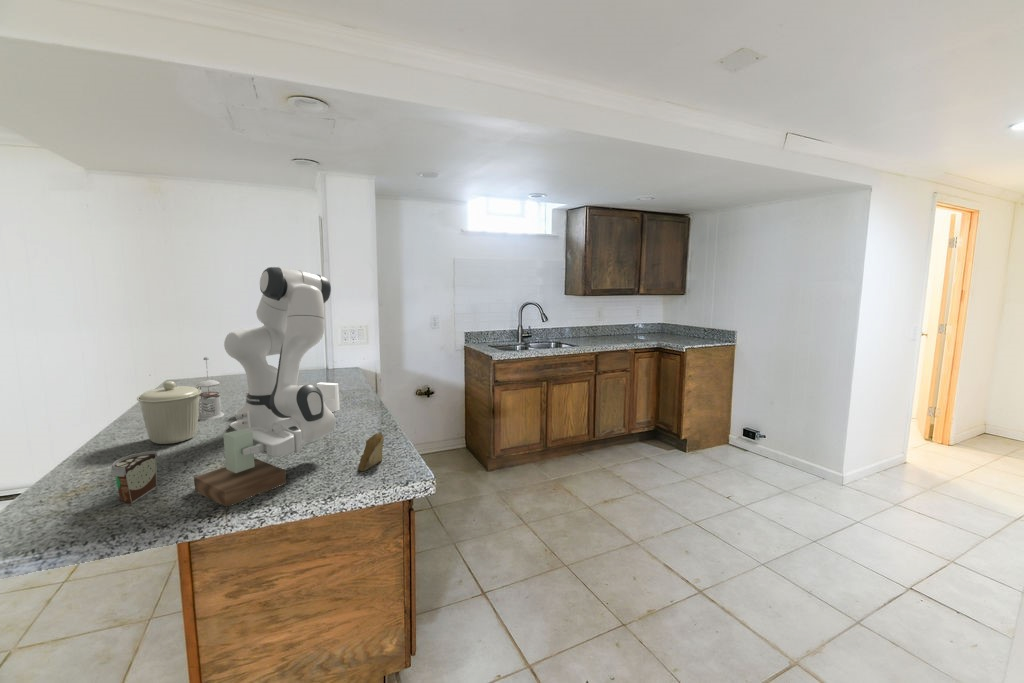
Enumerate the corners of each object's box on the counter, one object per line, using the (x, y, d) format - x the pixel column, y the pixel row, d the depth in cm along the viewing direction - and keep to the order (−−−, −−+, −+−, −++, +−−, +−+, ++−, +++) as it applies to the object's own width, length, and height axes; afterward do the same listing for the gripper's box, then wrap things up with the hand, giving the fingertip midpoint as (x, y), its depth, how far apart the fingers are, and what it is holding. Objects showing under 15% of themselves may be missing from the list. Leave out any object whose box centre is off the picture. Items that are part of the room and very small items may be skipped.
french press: (214, 420, 181) (209, 359, 178) (185, 419, 182) (180, 358, 178) (229, 412, 191) (225, 355, 188) (202, 412, 191) (198, 354, 188)
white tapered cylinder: (313, 412, 194) (311, 385, 192) (324, 406, 203) (323, 380, 201) (332, 414, 192) (331, 386, 191) (343, 408, 201) (342, 382, 199)
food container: (137, 484, 125) (133, 450, 123) (160, 484, 125) (157, 450, 124) (100, 507, 113) (96, 469, 111) (127, 506, 113) (123, 468, 112)
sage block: (226, 469, 123) (223, 433, 122) (244, 462, 127) (242, 428, 126) (235, 473, 120) (233, 437, 119) (254, 466, 125) (252, 432, 123)
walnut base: (195, 491, 122) (193, 477, 121) (254, 470, 135) (253, 457, 135) (226, 507, 114) (225, 492, 113) (285, 483, 127) (285, 470, 127)
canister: (169, 430, 169) (164, 375, 166) (216, 431, 168) (212, 376, 165) (126, 447, 151) (120, 386, 148) (179, 449, 150) (174, 388, 148)
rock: (364, 468, 133) (393, 455, 140) (352, 443, 135) (381, 430, 142) (353, 479, 140) (381, 466, 147) (342, 454, 142) (370, 442, 149)
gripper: (263, 418, 139) (215, 431, 127) (304, 431, 128) (255, 446, 117) (264, 438, 140) (216, 452, 128) (305, 452, 129) (257, 469, 118)
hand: (235, 449), depth 122 cm, fingers closed on sage block, 5 cm apart
